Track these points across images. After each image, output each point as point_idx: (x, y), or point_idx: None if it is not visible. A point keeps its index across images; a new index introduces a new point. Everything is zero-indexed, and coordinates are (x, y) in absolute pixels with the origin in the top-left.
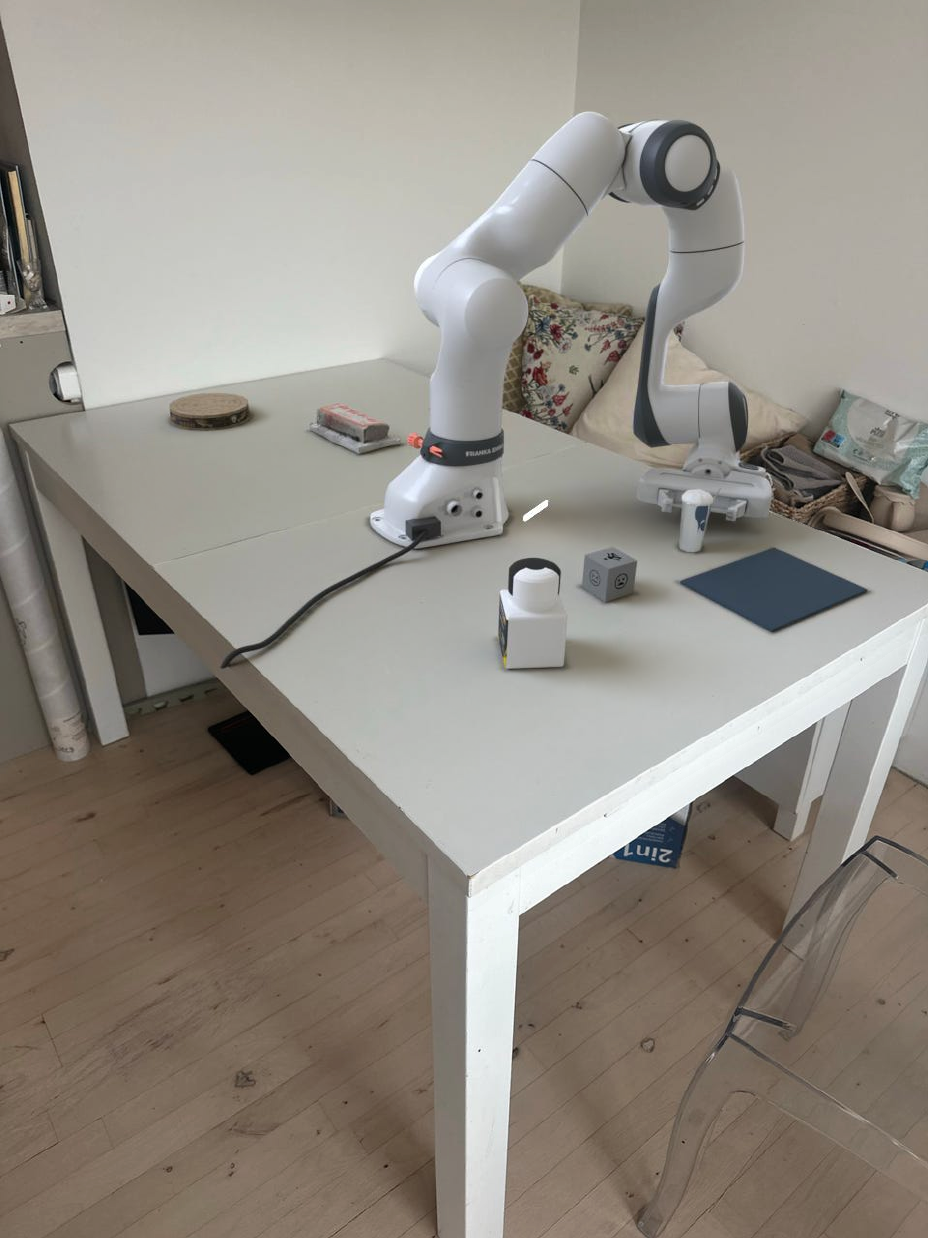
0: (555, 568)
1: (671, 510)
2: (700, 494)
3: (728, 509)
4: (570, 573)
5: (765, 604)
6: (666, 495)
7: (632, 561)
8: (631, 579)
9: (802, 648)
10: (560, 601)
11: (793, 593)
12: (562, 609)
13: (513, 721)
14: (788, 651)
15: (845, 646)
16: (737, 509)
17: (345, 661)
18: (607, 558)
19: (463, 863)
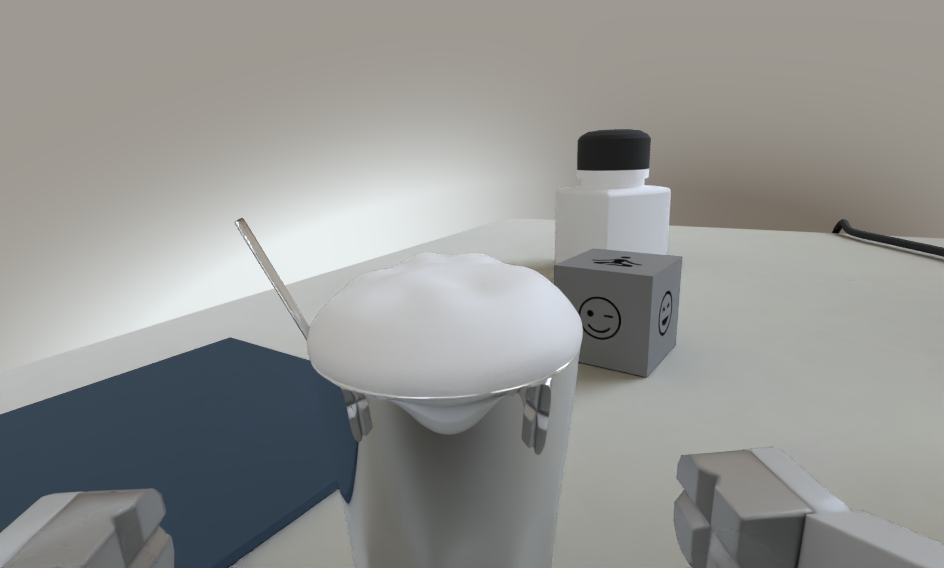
0: (588, 133)
1: (677, 522)
2: (423, 264)
3: (133, 492)
4: (756, 370)
5: (202, 384)
6: (871, 539)
7: (562, 262)
8: None
9: (187, 331)
10: (581, 190)
11: (59, 440)
12: (567, 188)
13: (554, 241)
14: (221, 323)
15: (81, 349)
16: (18, 517)
17: (763, 241)
18: (624, 258)
19: (514, 218)
